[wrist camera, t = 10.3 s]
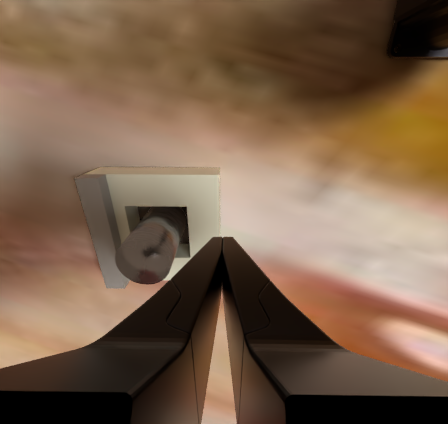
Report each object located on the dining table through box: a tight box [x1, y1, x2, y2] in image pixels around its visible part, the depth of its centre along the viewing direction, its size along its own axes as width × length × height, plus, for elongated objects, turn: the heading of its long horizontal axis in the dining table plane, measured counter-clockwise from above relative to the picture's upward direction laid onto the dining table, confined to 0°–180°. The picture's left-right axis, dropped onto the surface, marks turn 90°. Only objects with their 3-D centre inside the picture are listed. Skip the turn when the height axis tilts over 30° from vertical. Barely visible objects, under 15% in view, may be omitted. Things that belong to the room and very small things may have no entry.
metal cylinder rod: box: [115, 206, 187, 284], centre depth 19 cm, size 4×4×7 cm
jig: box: [74, 167, 220, 288], centre depth 20 cm, size 11×11×4 cm
